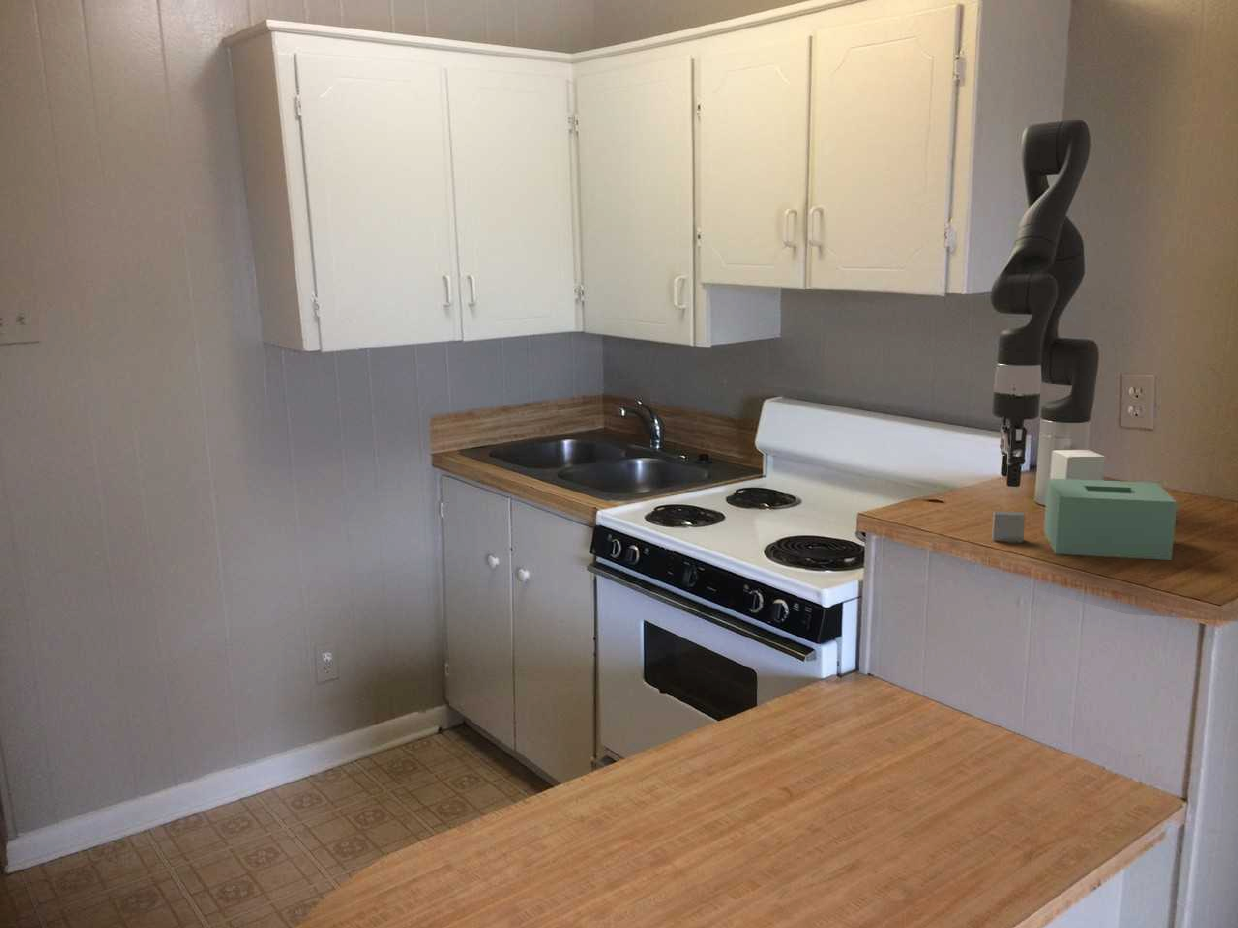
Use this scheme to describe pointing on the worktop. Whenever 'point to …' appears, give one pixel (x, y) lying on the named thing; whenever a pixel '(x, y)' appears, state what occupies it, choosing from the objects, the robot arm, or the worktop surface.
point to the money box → (1110, 518)
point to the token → (1008, 526)
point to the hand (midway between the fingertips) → (1010, 481)
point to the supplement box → (1077, 465)
